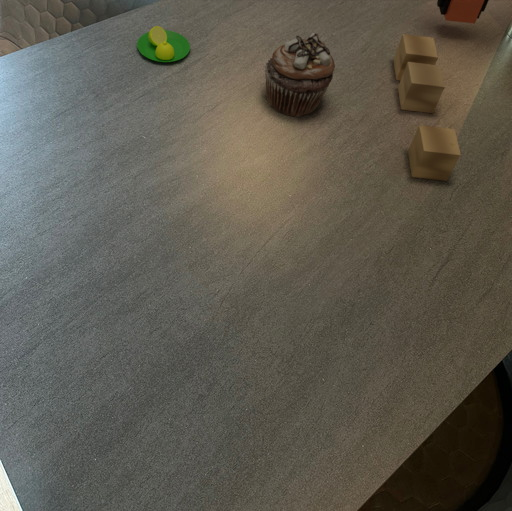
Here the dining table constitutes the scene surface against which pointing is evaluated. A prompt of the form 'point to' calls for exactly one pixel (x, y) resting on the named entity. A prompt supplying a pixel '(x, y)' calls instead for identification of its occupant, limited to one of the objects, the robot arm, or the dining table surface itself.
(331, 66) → the cupcake
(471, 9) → the terracotta block
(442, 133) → the maple block
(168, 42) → the lemon
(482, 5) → the robot arm
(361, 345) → the dining table surface
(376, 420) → the dining table surface
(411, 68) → the maple block
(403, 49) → the maple block
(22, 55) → the dining table surface
